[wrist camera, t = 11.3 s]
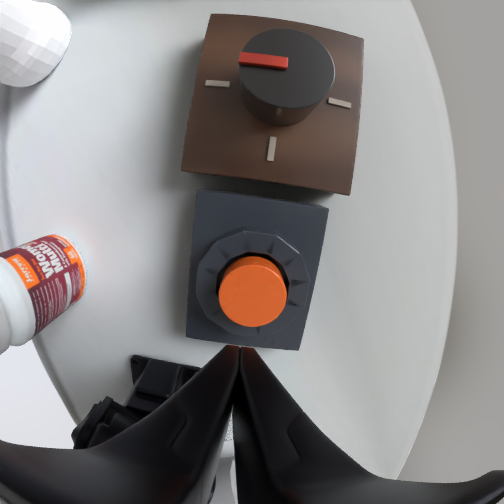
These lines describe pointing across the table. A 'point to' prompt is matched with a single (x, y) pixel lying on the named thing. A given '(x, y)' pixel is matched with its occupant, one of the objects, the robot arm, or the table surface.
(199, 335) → the button box
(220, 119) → the panel
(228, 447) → the alarm clock
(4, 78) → the bottle
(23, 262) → the pill bottle
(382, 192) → the table surface
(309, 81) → the knob
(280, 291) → the button
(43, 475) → the robot arm
